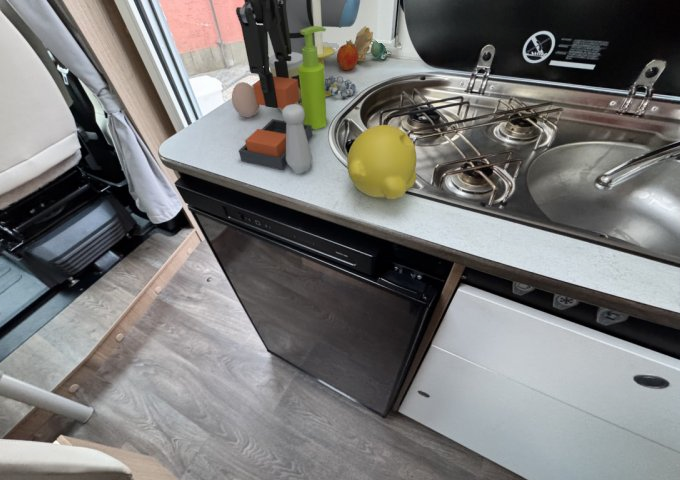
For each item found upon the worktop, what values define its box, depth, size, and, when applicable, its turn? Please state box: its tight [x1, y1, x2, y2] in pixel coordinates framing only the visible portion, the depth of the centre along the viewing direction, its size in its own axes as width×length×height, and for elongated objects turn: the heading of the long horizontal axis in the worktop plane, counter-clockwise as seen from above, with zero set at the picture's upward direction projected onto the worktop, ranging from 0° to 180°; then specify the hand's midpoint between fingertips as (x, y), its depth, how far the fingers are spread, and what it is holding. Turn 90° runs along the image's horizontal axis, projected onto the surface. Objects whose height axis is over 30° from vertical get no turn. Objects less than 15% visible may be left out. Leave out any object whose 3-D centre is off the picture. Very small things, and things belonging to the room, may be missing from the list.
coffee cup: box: [269, 52, 303, 112], centre depth 80 cm, size 9×9×12 cm
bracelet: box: [324, 75, 357, 98], centre depth 87 cm, size 10×10×2 cm
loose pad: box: [252, 76, 300, 109], centre depth 65 cm, size 6×8×4 cm
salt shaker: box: [281, 104, 313, 174], centre depth 61 cm, size 6×6×13 cm
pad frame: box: [238, 118, 313, 171], centre depth 70 cm, size 16×11×3 cm
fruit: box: [336, 40, 359, 72], centre depth 96 cm, size 7×7×8 cm
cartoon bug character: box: [346, 25, 392, 62], centre depth 101 cm, size 10×18×15 cm
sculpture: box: [346, 124, 418, 200], centre depth 55 cm, size 15×13×13 cm
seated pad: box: [244, 128, 286, 157], centre depth 67 cm, size 6×8×4 cm
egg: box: [231, 81, 260, 118], centre depth 79 cm, size 7×7×8 cm
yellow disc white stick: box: [312, 0, 339, 98], centre depth 79 cm, size 10×10×27 cm
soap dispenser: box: [298, 26, 328, 130], centre depth 70 cm, size 6×7×20 cm
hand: (278, 100), depth 66 cm, fingers closed on loose pad, 5 cm apart
